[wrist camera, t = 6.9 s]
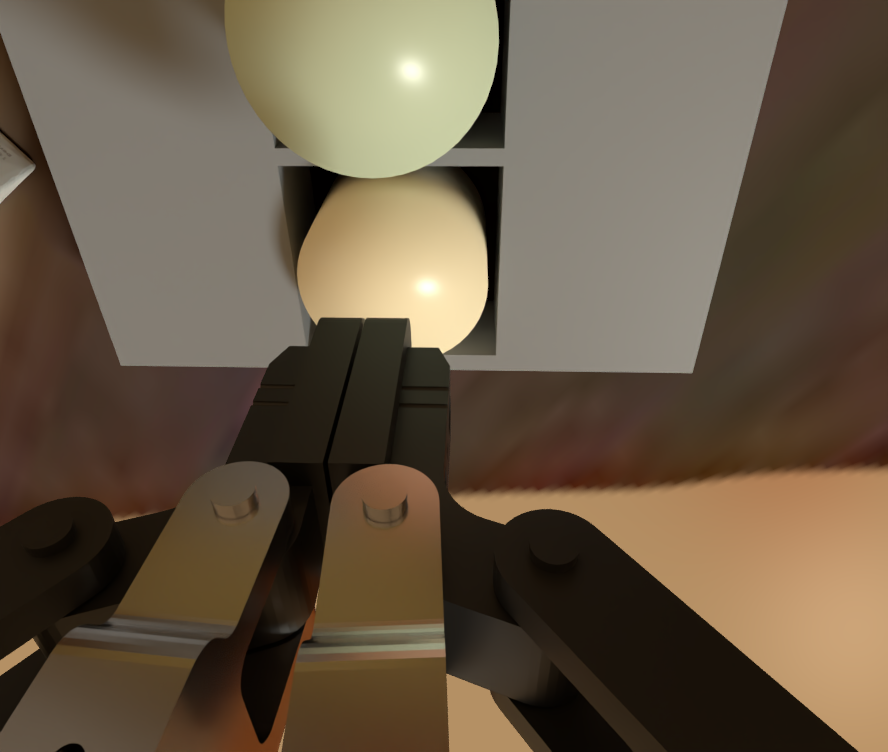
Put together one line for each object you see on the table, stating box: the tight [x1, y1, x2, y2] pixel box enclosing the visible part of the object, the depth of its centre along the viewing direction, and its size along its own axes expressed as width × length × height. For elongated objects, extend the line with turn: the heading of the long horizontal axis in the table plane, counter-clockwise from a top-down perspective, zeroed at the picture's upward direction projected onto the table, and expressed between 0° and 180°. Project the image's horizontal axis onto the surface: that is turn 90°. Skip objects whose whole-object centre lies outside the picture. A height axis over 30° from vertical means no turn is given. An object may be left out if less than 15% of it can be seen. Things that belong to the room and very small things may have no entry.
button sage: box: [224, 0, 499, 178], centre depth 13 cm, size 5×5×4 cm
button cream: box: [297, 166, 488, 354], centre depth 17 cm, size 5×5×4 cm
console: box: [0, 0, 788, 373], centre depth 15 cm, size 17×16×3 cm
